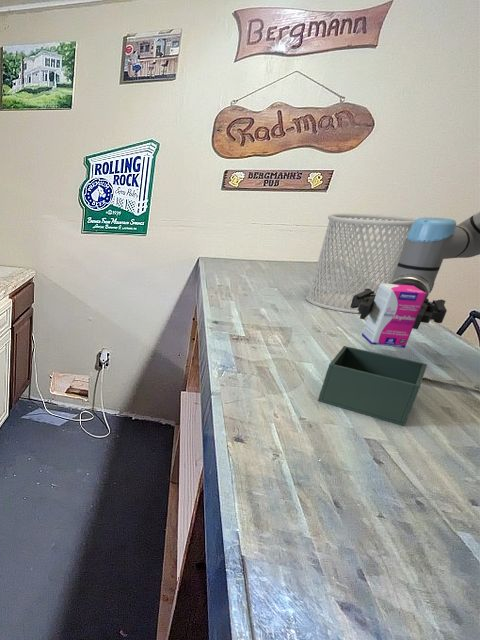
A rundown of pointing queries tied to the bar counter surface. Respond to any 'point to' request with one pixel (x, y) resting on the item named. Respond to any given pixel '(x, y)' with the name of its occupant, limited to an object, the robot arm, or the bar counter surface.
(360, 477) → the bar counter surface
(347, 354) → the bin
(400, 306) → the supplement box
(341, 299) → the wastebasket
